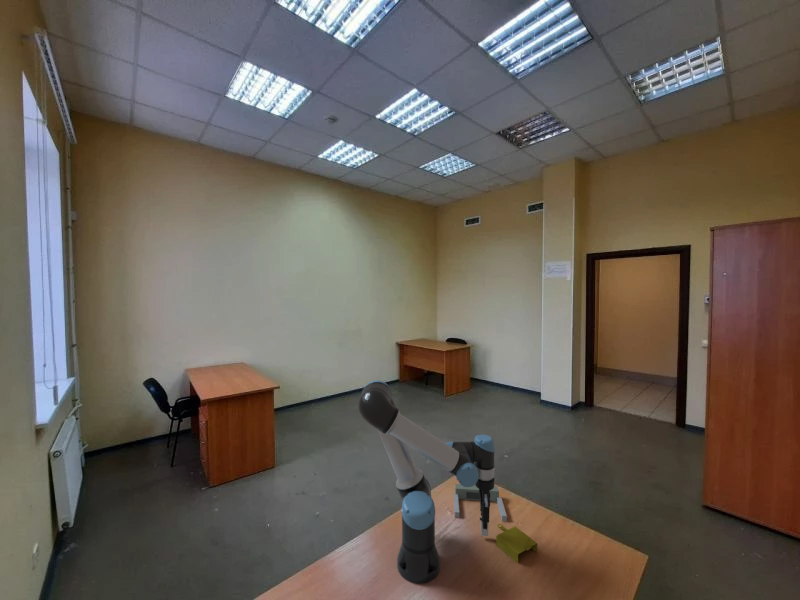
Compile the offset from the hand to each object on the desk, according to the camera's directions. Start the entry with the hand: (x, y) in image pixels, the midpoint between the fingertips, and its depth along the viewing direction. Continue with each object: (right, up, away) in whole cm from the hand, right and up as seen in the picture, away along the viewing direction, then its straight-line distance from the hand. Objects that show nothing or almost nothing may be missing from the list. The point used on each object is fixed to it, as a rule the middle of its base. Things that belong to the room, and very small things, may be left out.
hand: (484, 534), depth 131 cm
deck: (+2, -2, +19) cm, 20 cm away
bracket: (+6, +2, +3) cm, 7 cm away
